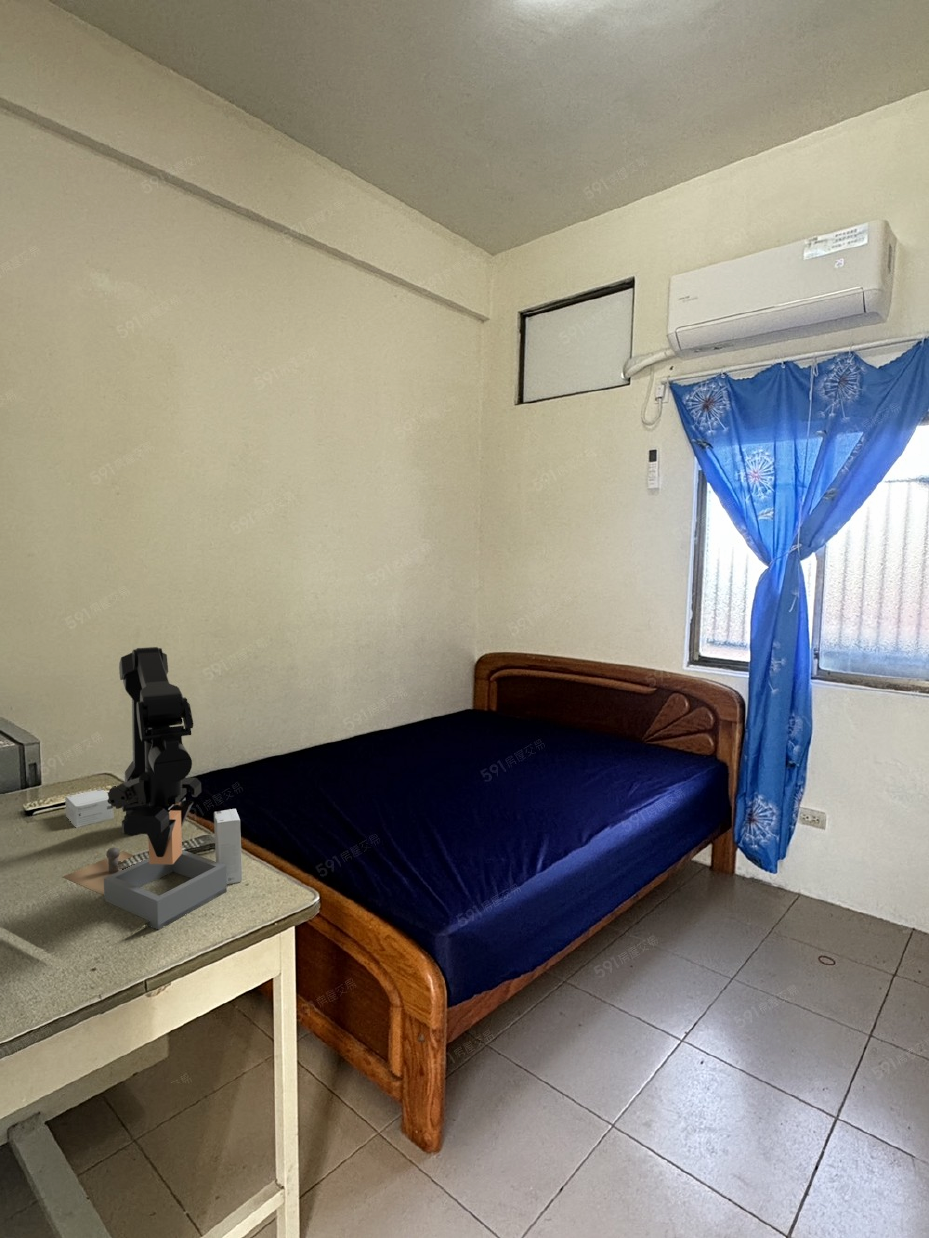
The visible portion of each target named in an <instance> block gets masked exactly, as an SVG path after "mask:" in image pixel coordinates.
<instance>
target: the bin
mask: <svg viewBox="0 0 929 1238" xmlns="http://www.w3.org/2000/svg"><path fill="white" fill-rule="evenodd" d="M173 872H174V873H176V874H179V875H181V876H184V877H187V878H190V879H189V880H187V881H186V882H183V883H181V884H179V885H178V886H176V887H173V888H171V889H170V890H168V891H166V892H163V893H162V894H160V895H158V894H156V893H154V892H151V891H149V890H146V889H144V888H142V887H144V886H147V885H148V884H150V883H152V882H154V881H156V880H158V879H160V878H162V877H165V876H167V875H169V874H171V873H173ZM227 889H228V887H227V885H226V865H224V864H221V863H218V862H216V860H215V861H214V860H213V859H209V858H206V857H203V856H201V855H199V854H195V853H193V852H190V851H187V850H184V849H182V854H181V855H180V856H179V858H178V859H177V860H176V861H175V862H174V864H149V857H148V858H146V859H145V860H144V861H141V862H139V863H137V864H135V865H132V866H130V867H128V868H126V869H124V870H121V871H119V872H117V873H115V874H112V875H110V876H108V877H106V878H104V896H103V897H104V900H103V901H104V902H106V903H108V904H112V905H113V906H115V907H117V908H119V909H122V910H123V911H126V912H128V913H131V914H133V915H135V916H138V917H140V918H142V919H145V920H146V921H147V922H146V923H145V925H146V926H148V927H150V926H152V927H153V928H152V927H151V928H152V929H154V928H156V929H155V930H157V929H158V930H157V931H159V929H160V928H161V929H163V928H164V927H163V926H165V927H167V926H168V925H170V924H172V923H174V922H176V921H177V920H179V919H181V918H183V917H184V916H186V915H188V914H190V913H191V912H193V911H195V910H197V909H199V908H200V907H202V906H204V905H206V904H208V903H209V902H211V901H213V900H214V899H216V898H218V897H220V896H222V895H223V894H225V893H227ZM187 913H188V914H187ZM185 914H186V915H185ZM166 925H167V926H166ZM162 927H163V928H162ZM161 929H160V930H161Z"/></svg>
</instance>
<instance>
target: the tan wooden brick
mask: <svg viewBox="0 0 929 1238" xmlns="http://www.w3.org/2000/svg"><path fill="white" fill-rule="evenodd" d="M169 819H173V820H176V821H175V824H174V828H173V830H172V834H171V837H170V840H169V843H168V846H167V849H166V852H165V854H164V856H163V857H157V856H156V853H155V851H154V849H153V846H152V844H151V842H150V839H149V837H148V836H147V837H148V838H147V839H148V858H149V864H174V862H175V861H176V860H177V859H178V858H179V856H180V855H181V854H182V850H183V848H182V847H183V846H182V845H183V844H182V840H183V839H182V837H183V836H182V834H183V833H182V828H181V811H172V810H170V813H169Z"/></svg>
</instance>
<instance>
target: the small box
mask: <svg viewBox="0 0 929 1238" xmlns="http://www.w3.org/2000/svg"><path fill="white" fill-rule="evenodd" d="M108 794H109V792H107V791H105V790H104V789H103V788H98V789H94V790H91V791H90V790H89V791H84V792H81V793H77V794H76V793H75V794H72V795H69V796H68V795H67V796H65V797H64V798H65V799H64V800H65V801H64V802H65V818H66V817H67V818H68V819H69V820H68V819H67V818H66V819H67V820H68V821H69V822H70V821H71V822H70V823H71V824H72V825H73V827H74V828H75V827H76V829H77V828H80V827H83V826H87V825H92V824H95V823H99V822H104V821H109V820H112V819H114V806H112V805H111V804H109V803H108V799H109V797H108Z"/></svg>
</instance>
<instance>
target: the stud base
mask: <svg viewBox="0 0 929 1238" xmlns="http://www.w3.org/2000/svg"><path fill="white" fill-rule="evenodd" d="M133 856H136V855H134V854H131V853H129V852H127V851H120V850H119V848H117V847H115V846H114V847H110V848H109V849H108V850H107V851H106V858H103V859H101V860H99V861H97V862H94V863H91V864H90V865H87V866H84V867H82V868H80V869H77V870H74V871H73V872H71V873H68V874H66V875H63V876H62V878H64V879H66V880H68V881H70V882H72V883H75V884H78V885H80V886H82V887H84V888H87V889H89V890H91V891H93V892H95V893H96V894H97V893H98V894H99V895H102V896H103V895H104V878H106V877H108V876H110V875H112V874H115V873H117V872H119V871H121V870H122V869H119V868H118V861H122V860H126V859H128V858H131V857H133Z"/></svg>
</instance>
